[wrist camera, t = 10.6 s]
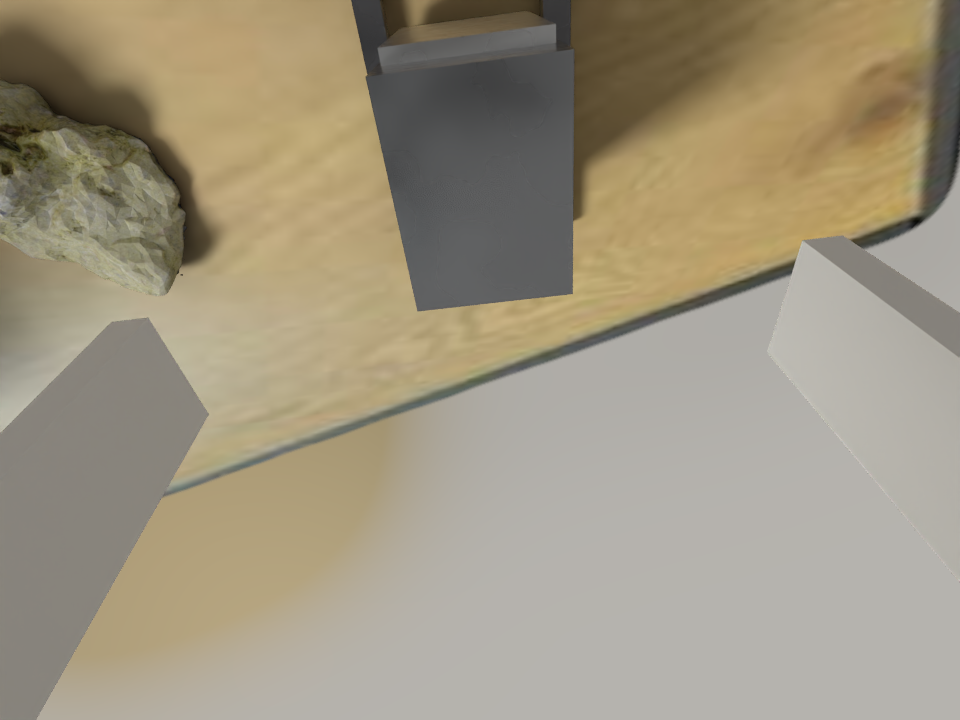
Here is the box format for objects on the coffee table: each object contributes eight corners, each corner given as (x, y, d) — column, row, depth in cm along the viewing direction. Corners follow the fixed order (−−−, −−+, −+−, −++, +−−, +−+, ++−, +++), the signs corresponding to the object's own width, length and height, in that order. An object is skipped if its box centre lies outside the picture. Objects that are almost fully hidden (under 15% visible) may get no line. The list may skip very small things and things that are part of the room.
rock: (206, 271, 31) (180, 111, 24) (157, 341, 27) (109, 171, 20) (15, 229, 29) (-73, 42, 22) (-70, 297, 25) (-214, 91, 18)
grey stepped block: (430, 209, 27) (417, 311, 19) (397, 27, 22) (361, 56, 14) (537, 196, 27) (572, 293, 19) (530, 9, 22) (574, 28, 14)
